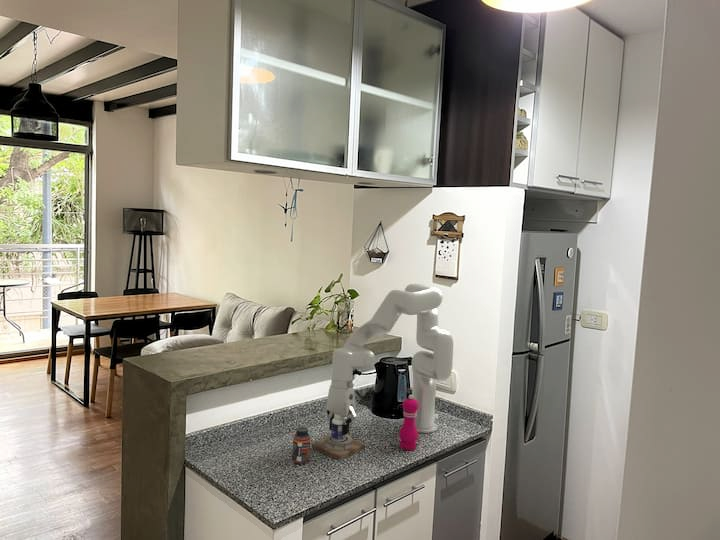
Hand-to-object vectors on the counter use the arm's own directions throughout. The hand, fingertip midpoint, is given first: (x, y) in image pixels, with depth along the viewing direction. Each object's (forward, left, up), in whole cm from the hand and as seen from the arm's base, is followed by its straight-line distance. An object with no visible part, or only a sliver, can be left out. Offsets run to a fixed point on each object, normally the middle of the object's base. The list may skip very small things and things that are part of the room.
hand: (339, 431), depth 194 cm
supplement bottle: (+17, -2, -7) cm, 18 cm away
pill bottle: (0, 0, -3) cm, 3 cm away
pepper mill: (-20, +17, -7) cm, 27 cm away
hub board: (0, 0, -6) cm, 6 cm away
